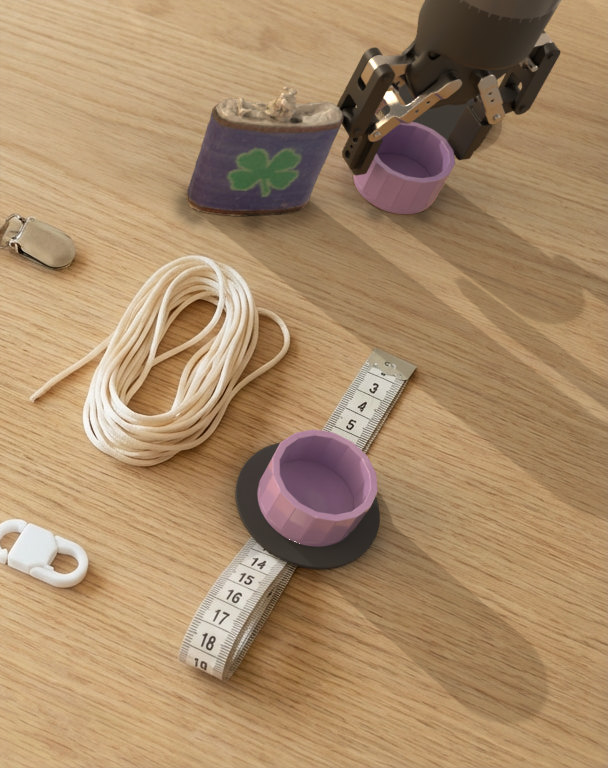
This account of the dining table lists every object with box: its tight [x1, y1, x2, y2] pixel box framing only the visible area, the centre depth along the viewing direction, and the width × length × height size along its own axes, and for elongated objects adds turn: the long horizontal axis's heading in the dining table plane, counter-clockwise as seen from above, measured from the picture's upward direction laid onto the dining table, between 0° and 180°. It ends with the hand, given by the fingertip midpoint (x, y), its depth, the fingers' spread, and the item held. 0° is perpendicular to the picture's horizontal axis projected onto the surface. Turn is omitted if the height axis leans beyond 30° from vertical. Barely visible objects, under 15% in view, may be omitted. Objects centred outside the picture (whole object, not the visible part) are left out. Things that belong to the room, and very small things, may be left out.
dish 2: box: [352, 122, 456, 215], centre depth 91 cm, size 6×6×4 cm
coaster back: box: [380, 83, 475, 142], centre depth 98 cm, size 9×9×1 cm
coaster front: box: [234, 442, 381, 570], centre depth 77 cm, size 9×9×1 cm
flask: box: [185, 86, 344, 217], centre depth 87 cm, size 9×3×11 cm, turn 91°
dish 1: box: [257, 429, 379, 547], centre depth 75 cm, size 6×6×4 cm
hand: (406, 159), depth 90 cm, fingers open, 8 cm apart
